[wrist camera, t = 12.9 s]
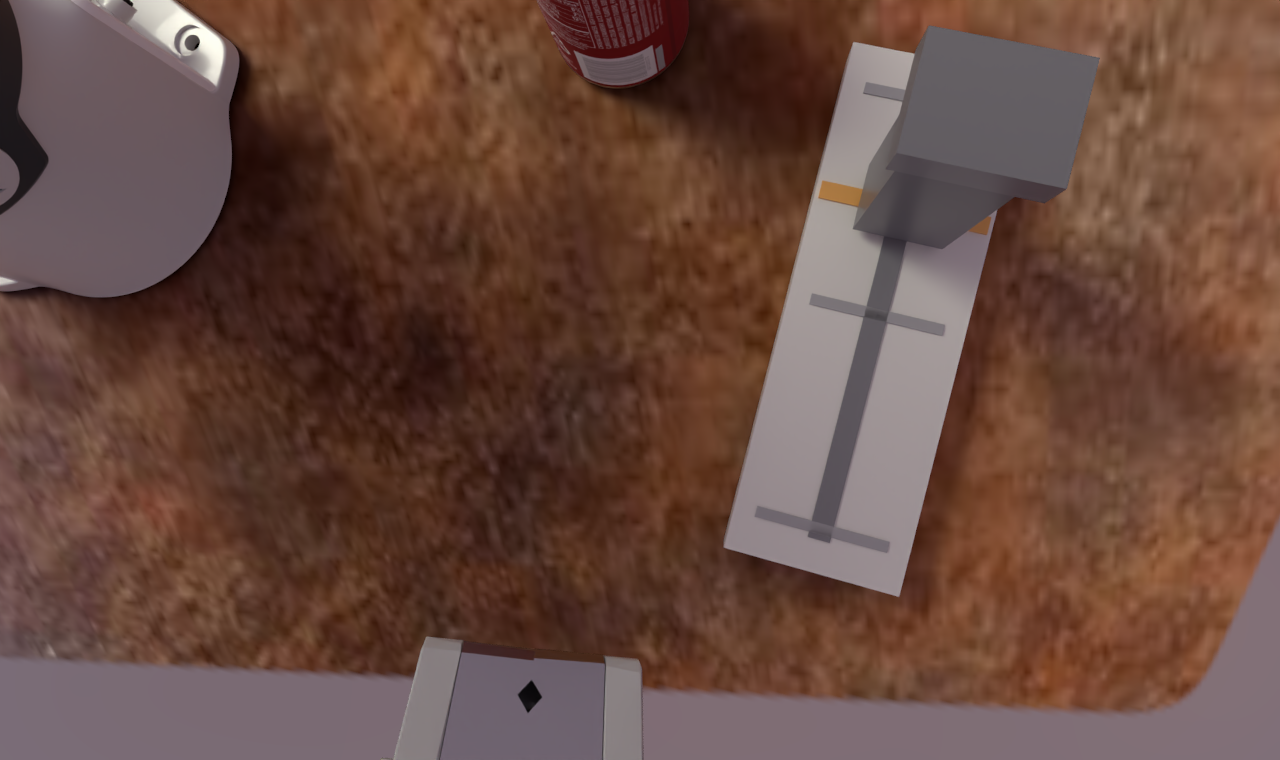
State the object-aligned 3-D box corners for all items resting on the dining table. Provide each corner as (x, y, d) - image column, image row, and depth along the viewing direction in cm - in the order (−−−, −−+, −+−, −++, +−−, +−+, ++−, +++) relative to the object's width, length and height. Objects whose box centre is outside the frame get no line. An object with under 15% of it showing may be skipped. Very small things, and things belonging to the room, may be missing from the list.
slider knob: (950, 262, 33) (1066, 188, 22) (838, 237, 33) (896, 153, 22) (973, 175, 33) (1099, 58, 22) (860, 151, 33) (929, 25, 22)
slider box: (889, 586, 35) (899, 597, 33) (723, 540, 36) (723, 548, 34) (1013, 95, 35) (1032, 75, 33) (846, 62, 36) (853, 40, 34)
